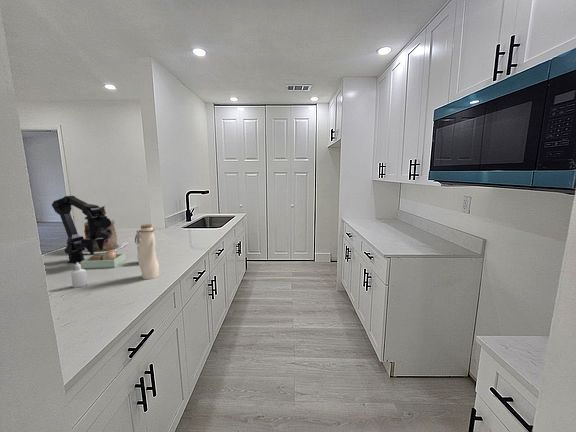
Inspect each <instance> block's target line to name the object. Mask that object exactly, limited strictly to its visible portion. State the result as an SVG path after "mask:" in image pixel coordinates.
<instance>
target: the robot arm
mask: <svg viewBox="0 0 576 432" xmlns="http://www.w3.org/2000/svg"><path fill="white" fill-rule="evenodd" d="M72 206H73V207H74V208H77V209H79V210H80V211H81V212H82V214H84V215H85V217H84V220H87V221H86V222H88V229H87V231H89V236H87V237H88V238H85V237H84V236H82V235H79V233H78V231H77V227H76V225H75V222H74V221H73V217H72V214H71V211H72ZM100 207H101V206H99V205H97V204H93V203H88V202H85V201H83V200H81V199H80V198H77V197H76V196H74V195H65V196H63V197H62V198H59V199H56V200H54V201H53V202H52V203H51V208H53V210H54V212H55V213H56V214H57V215H59V217H60V218H61V222H62V224H63V228H64V229H65V232H66V235H67V240H66V245H67V246H66V247H65V249H64V253H65V254H67V255H68V261H67V264H69V263H70V264H74V263H77V262H78V263H81V261H83V260H85V259H86V258H85V257H84V254H83V253H82V251H83V250H85V249H87V250H88V251H89V252H90V254H89V255H91V256H93V255H95V254H94V245H95V244H96V243H95V242H97V244H98V246H99V249H100V250H103V245H104V242H105V240H106V239H108V238H110V237H111V235H112V230H110V229H109V230H107V231H106V230H105V231H103V230H102V228H108V227H110V225H111V221H110V220H111V219H110V218H108V216H107V215H106V214H105V215H104V213H103V212H102V211H101V209H100Z"/></svg>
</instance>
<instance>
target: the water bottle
mask: <svg viewBox="0 0 576 432" xmlns="http://www.w3.org/2000/svg"><path fill="white" fill-rule="evenodd" d="M154 231H156V230H155V228H153V226H152V224H151V223H148V224H147V223H146V224H145V223H144V224H141V225H140V230H136V234H135V237H134V243H135V244H136V246H139V248H138V249H137V263H138V265H139V268H140V272H141V276H142V279H144V280H151V279H156V278H157V277H159V275H160V265H159V261H158V258H157V254H156V253H157V252H156V237H155V234H154Z"/></svg>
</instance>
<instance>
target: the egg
mask: <svg viewBox="0 0 576 432" xmlns="http://www.w3.org/2000/svg"><path fill="white" fill-rule="evenodd" d="M116 252H117V251H116ZM116 252H115V251H108V252H106V259H107V260H114V259H116V254H117V253H116Z"/></svg>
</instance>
